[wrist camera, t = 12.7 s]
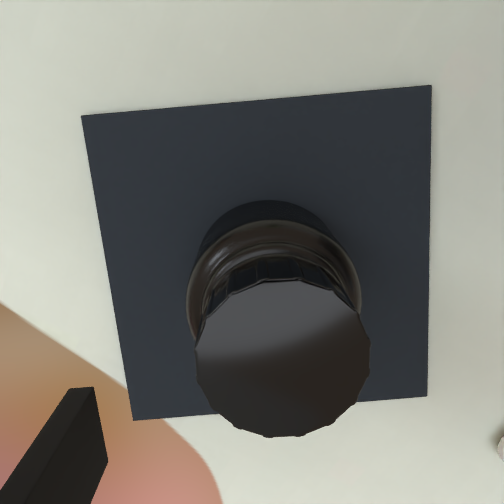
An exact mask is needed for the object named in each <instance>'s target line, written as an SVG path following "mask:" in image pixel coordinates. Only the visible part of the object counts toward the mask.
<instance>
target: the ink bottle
mask: <svg viewBox="0 0 504 504" xmlns="http://www.w3.org/2000/svg"><path fill="white" fill-rule="evenodd" d="M185 306H186V316H187V321H188V325H189V329H190V332H191V334H192V337H193V339H194V341H195V347H194V354H195V361H196V381H197V383H198V385H200V387H201V389H202V391H203V392H204V394H205V396H206V398H207V400H208V401H209V405H210V407H211V408H212V409H213V410H214V411H217V412H218V413H219V414H220V415H222V416H223V417H224V418H225V419H227V420H228V421H229V422H231V423H232V424H233V426H234V427H236V428H238V429H243V430H246V431H250V432H253V433H256V434H259V435H262V436H263V437H266V438H273V437H287V436H296V437H300V436H304V435H306V434H307V433H309V432H312V431H314V430H317V429H319V428H322V427H324V426H329V425H331V424H333V423H334V422H335V421H336V419H337V418H338V417H339V416H340V415H342V414H343V413H344V412H345V411H346V410H347V409H348V408H349V407H350V406H352V405H354V404H355V403H356V401H357V400H358V395H359V393H360V392H361V389H362V387H363V385H364V383H365V381H366V379H367V378H368V377H369V374H370V368H369V364H370V347H371V341H370V338H369V336H368V334H367V333H366V331H365V328H364V326H363V324H362V322H361V320H360V315H361V308H362V293H361V285H360V280H359V277H358V273H357V270H356V268H355V266H354V263H353V261H352V259H351V258H350V256H349V254H348V253H347V251H346V250H345V249H344V247H343V246H342V245H341V244H340V242H339V241H338V240H337V239H336V237H335V236H334V235H333V233H332V232H331V231H330V230H329V228H328V227H327V226H326V225H325V224H324V223H323V221H321V220H320V219H319V218H318V217H317V216H316V215H314V214H313V213H312V212H310V211H308V210H307V209H305V208H303V207H300V206H298V205H295V204H292V203H289V202H285V201H278V200H259V201H253V202H249V203H245V204H242V205H239V206H237V207H235V208H233V209H231V210H229V211H228V212H226V213H225V214H223V215H222V216H221V217H219V218H218V219H217V220H216V221H215V222H214V223H213V225H212V226H211V227H210V228H209V230H208V231H207V233H206V234H205V236H204V238H203V240H202V242H201V245H200V247H199V250H198V253H197V256H196V259H195V261H194V264H193V267H192V270H191V273H190V276H189V280H188V284H187V289H186V299H185Z"/></svg>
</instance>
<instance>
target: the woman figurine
mask: <svg viewBox="0 0 504 504" xmlns="http://www.w3.org/2000/svg"><path fill="white" fill-rule="evenodd" d="M497 452H498V454H499V456H500V458H501V459H502V460H504V436H503V437H502V438H501V440H500V442H499V444H498V449H497Z"/></svg>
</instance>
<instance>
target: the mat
mask: <svg viewBox="0 0 504 504" xmlns="http://www.w3.org/2000/svg"><path fill="white" fill-rule="evenodd" d="M431 96H432V85H426V86H414V87H403V88H392V89H380V90H369V91H357V92H346V93H334V94H323V95H312V96H300V97H289V98H277V99H266V100H254V101H243V102H231V103H220V104H209V105H197V106H186V107H174V108H163V109H151V110H140V111H129V112H117V113H106V114H94V115H83V116H81V119H82V125H83V131H84V137H85V143H86V149H87V154H88V160H89V166H90V172H91V178H92V184H93V189H94V195H95V201H96V207H97V213H98V218H99V224H100V230H101V236H102V242H103V248H104V253H105V259H106V265H107V271H108V277H109V283H110V288H111V294H112V300H113V306H114V312H115V318H116V323H117V329H118V335H119V341H120V347H121V353H122V358H123V364H124V370H125V376H126V382H127V387H128V393H129V399H130V404H131V411H132V417H133V421H136V420H147V419H160V418H172V417H184V416H196V415H208V414H219V413H218V412H217V411H214V410H213V409H212V408H211V407H210V405H209V401H208V400H207V398H206V396H205V394H204V392H203V391H202V389H201V387H200V385H198V383H197V381H196V361H195V354H194V347H195V341H194V339H193V337H192V334H191V332H190V329H189V325H188V321H187V316H186V306H185V299H186V289H187V284H188V280H189V276H190V273H191V270H192V267H193V264H194V261H195V259H196V256H197V253H198V250H199V247H200V245H201V242H202V240H203V238H204V236H205V234H206V233H207V231H208V230H209V228H210V227H211V226H212V225H213V223H214V222H215V221H216V220H217V219H218V218H219V217H221V216H222V215H223V214H225V213H226V212H228V211H229V210H231V209H233V208H235V207H237V206H239V205H242V204H245V203H249V202H253V201H259V200H278V201H285V202H289V203H292V204H295V205H298V206H300V207H303V208H305V209H307V210H308V211H310V212H312V213H313V214H314V215H316V216H317V217H318V218H319V219H320V220H321V221H323V223H324V224H325V225H326V226H327V227H328V228H329V230H330V231H331V232H332V233H333V235H334V236H335V237H336V239H337V240H338V241H339V242H340V244H341V245H342V246H343V247H344V249H345V250H346V251H347V253H348V254H349V256H350V258H351V259H352V261H353V263H354V266H355V268H356V270H357V273H358V277H359V280H360V285H361V293H362V308H361V315H360V320H361V322H362V324H363V326H364V328H365V331H366V333H367V334H368V336H369V338H370V341H371V347H370V364H369V368H370V374H369V377H368V378H367V379H366V381H365V383H364V385H363V387H362V389H361V392H360V393H359V395H358V400H357V401H356V402H365V401H377V400H389V399H401V398H413V397H426V396H427V378H428V307H429V237H430V166H431Z"/></svg>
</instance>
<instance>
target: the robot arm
mask: <svg viewBox="0 0 504 504" xmlns="http://www.w3.org/2000/svg"><path fill="white" fill-rule="evenodd" d="M107 463H108V457H107V452H106V447H105V442H104V437H103V432H102V427H101V422H100V417H99V412H98V407H97V401H96V396H95V391H94V387H83V388H71V389H69V390H68V391H67V393H66V394H65V396H64V397H63V399H62V400H61V402H60V403H59V405H58V406H57V408H56V409H55V411H54V412H53V413H52V415H51V416H50V418H49V420H48V421H47V422H46V424H45V425H44V427H43V428H42V430H41V431H40V433H39V434H38V436H37V437H36V438H35V440H34V442H33V443H32V444H31V446H30V447H29V449H28V450H27V452H26V453H25V455H24V456H23V458H22V459H21V461H20V462H19V464H18V465H17V466H16V468H15V469H14V471H13V472H12V474H11V475H10V477H9V478H8V480H7V481H6V483H5V484H4V486H3V487H2V489H1V490H0V504H91V501H92V499H93V496H94V494H95V492H96V489H97V487H98V484H99V482H100V480H101V477H102V475H103V473H104V470H105V468H106V466H107Z"/></svg>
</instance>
